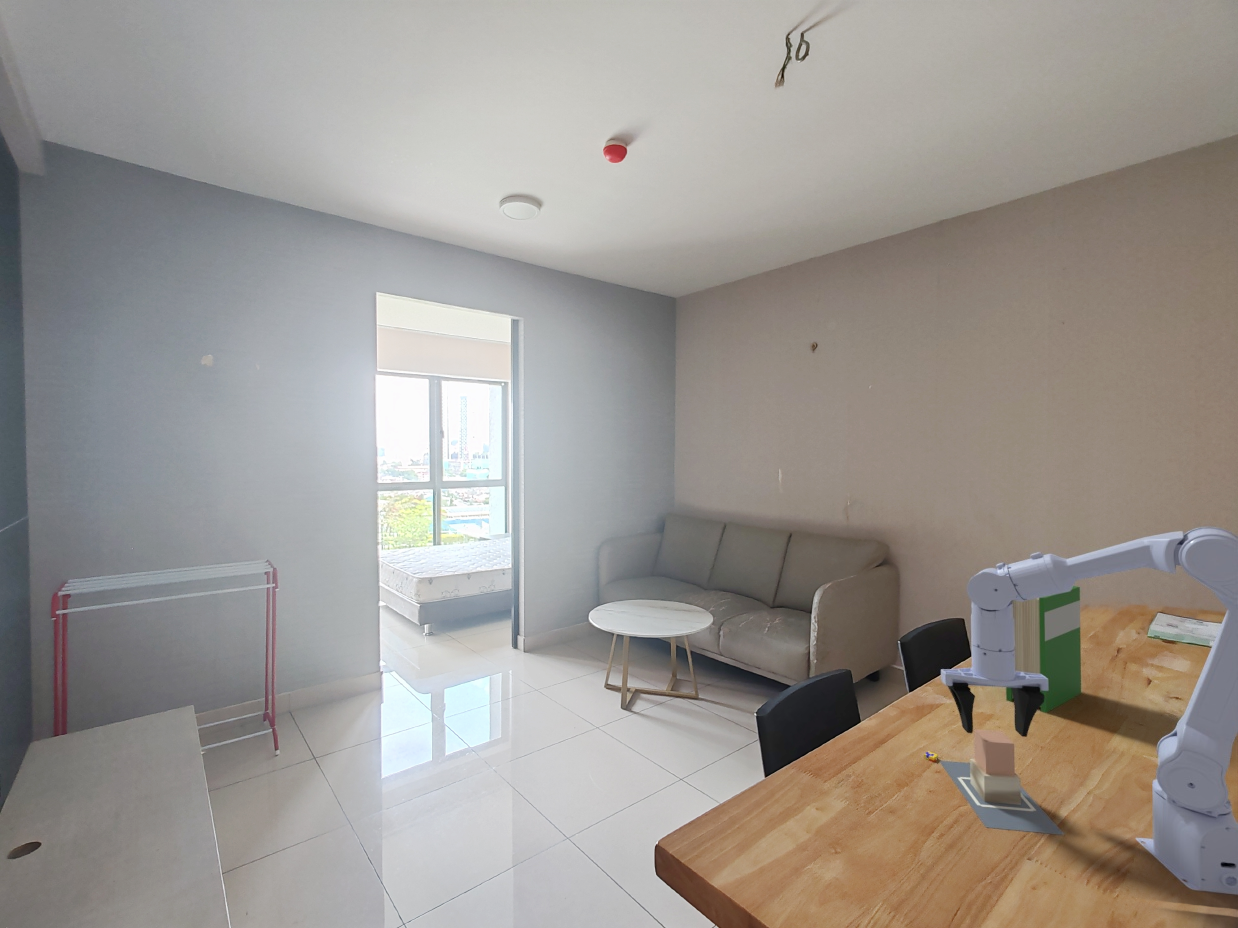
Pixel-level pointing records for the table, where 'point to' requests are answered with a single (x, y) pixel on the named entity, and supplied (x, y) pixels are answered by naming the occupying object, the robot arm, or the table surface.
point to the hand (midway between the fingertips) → (994, 731)
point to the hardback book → (1050, 644)
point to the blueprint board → (1001, 806)
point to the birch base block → (995, 785)
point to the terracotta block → (994, 752)
